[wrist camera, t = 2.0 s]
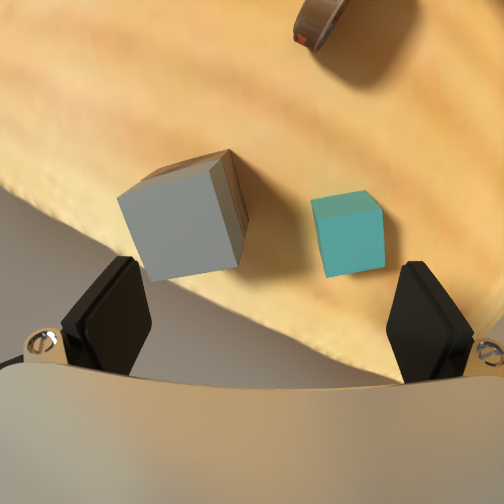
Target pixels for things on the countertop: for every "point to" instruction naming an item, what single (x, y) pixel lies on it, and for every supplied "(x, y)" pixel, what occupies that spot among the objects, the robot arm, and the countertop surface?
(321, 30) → the tin
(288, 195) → the countertop surface
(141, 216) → the block
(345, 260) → the teal cube
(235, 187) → the tower base
